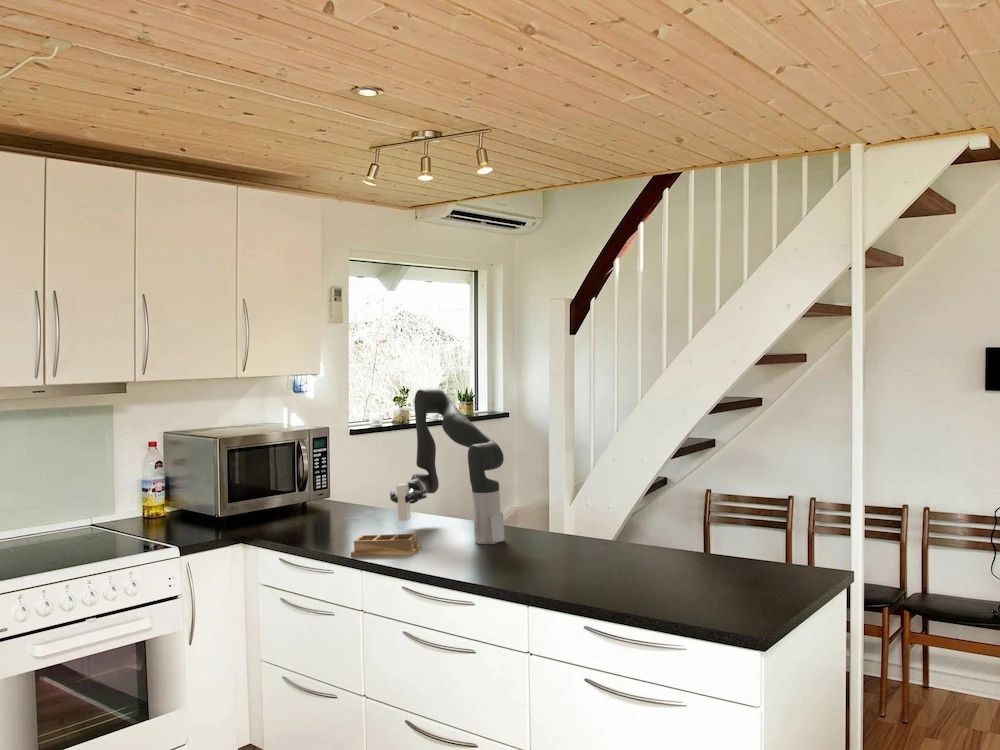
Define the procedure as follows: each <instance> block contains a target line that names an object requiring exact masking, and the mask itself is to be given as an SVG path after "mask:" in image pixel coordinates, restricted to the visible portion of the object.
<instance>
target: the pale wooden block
mask: <svg viewBox="0 0 1000 750" xmlns="http://www.w3.org/2000/svg"><path fill="white" fill-rule="evenodd" d="M395 487H396V494H397V500H398V503H397V511H398V512H397V514H398V521H399V522H401V521H406V522H407V521H408V520H410V519H411V518H412V517H411V516H412V515H411V504H410V501H409V502H408V503H406V502H405V496H406V495H408V494H409V487H408V482H402V483H399V484H397V485H396V486H395Z"/></svg>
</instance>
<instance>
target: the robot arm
mask: <svg viewBox="0 0 1000 750" xmlns="http://www.w3.org/2000/svg"><path fill="white" fill-rule="evenodd" d="M427 414H438V415H440V416H441V417H442V423H441V424H442V425H441V426H442V429H443V431H444V433H445V434H446V435H447V436H448V437H449V438H450V440H451V441H453V442H454V443H456V444H458V445H460V446H464V447H466V448H468V449H467V450H468V451H467V463H468V474H469V482H470V486H471V495H472V510H473V511H472V512H473V513H472V514H473V528H474V529H473V531H474V542H475V544H479V545H494V544H498V543H501V542H504V541H505V529H504V528H505V526H504V525H505V523H504V512H502V511H501V494H500V483H499V481H498V480H496V479H491V478H489V477H487V476H486V471H492V470H496V469H498V468H500V467H501V466H502V465H503V463H504V459H505V458H504V453H503V450H502V449H501V447H500V446H499V444H498V443H497V442H495V441H494V440H493V439H491V438H490V437H489V436H487V435H486V434H484V433H483V432H482V431H481V430H480V429H479V428H478V427H477V426H476V425H474V423H472V422H471V420H470V419H469V418H468V417H467V416H466V415H465V414H463V412H461V411H460V410H459V409H458V407H456V405H454V403H453V402H452V400H451V399H450V398H449V396H448V395H447V393H445V391H444V390H443V389H440V388H420V389H418V390H417V391H416V392H415V395H414V417H415V418H414V419H415V427H416V428H415V429H416V438H417V440H416V442H417V443H416V444H417V446H416V462H415V463H416V466H417V468H419V469H422V470H424V471H426V472H427V473H414V474H413V475H412V476H411V479H410V480H409V481H408V482H407V483H408V487H409V494H408V495H406V496H405V502H406V503H408V502H409V501H410V505H411V504H416V503H417V502H419V501H420V500H424V499H426V498H428V497H427V494H435V493H436V492H437V491H438V490H439V486H440V484H439V477H438V474H437V468H436V467H437V466H436V454H437V453H436V452H437V451H436V450H437V448H436V442H435V439H434V437H433V435H432V433H431V431H430V430H429V426H428V424H427ZM389 499H390V501H391V502H393V503H395V504H398V500H397V493H395V491H389Z"/></svg>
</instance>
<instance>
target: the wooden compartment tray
mask: <svg viewBox="0 0 1000 750" xmlns="http://www.w3.org/2000/svg"><path fill="white" fill-rule="evenodd" d="M421 548H422V543H418V534H417V533H403V534H402V533H396V534H395V533H393V534H392V533H391V534H362V535H360V536H359V537H357V538H356V539H355V540H353V550H351V552H350V557H370V556H371V557H374V556H375V557H376V556H378V557H379V556H414V555H415V554H416V553H417V552H418V551H419V550H420V549H421Z"/></svg>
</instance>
